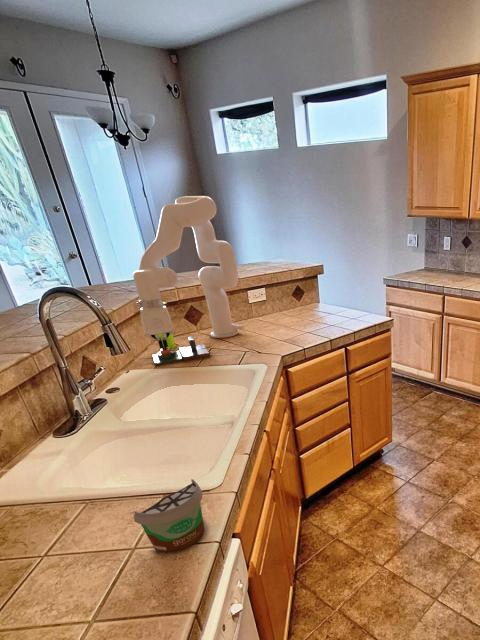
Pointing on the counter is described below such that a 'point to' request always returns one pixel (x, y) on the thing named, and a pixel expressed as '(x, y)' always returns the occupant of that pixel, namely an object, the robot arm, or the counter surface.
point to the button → (165, 351)
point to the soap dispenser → (168, 339)
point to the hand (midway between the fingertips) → (164, 349)
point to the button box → (167, 358)
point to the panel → (194, 353)
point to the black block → (192, 344)
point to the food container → (174, 520)
